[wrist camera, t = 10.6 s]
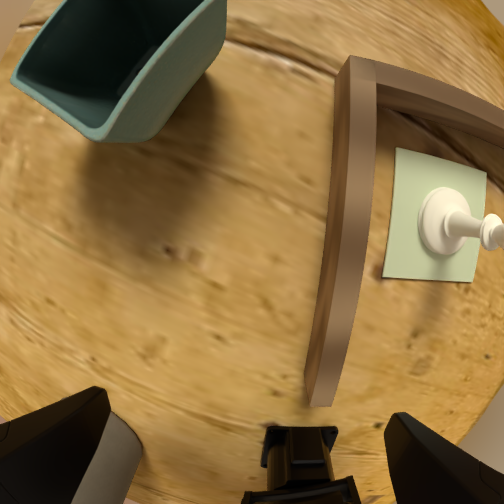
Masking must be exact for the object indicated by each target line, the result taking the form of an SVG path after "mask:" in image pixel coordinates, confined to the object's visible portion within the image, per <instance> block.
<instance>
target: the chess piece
mask: <svg viewBox="0 0 504 504" xmlns="http://www.w3.org/2000/svg"><path fill="white" fill-rule="evenodd" d="M418 228H419V233H420V236H421V239H422V241H423V243H424V244H425V246H426V247H427V248H428V249H429V250H431V251H432V252H434V253H437V254H443V255H448V254H452V253H455V252H456V251H458V250H459V249H460V248H461V247H462V246H463V245H464V244H465V242H466V240H467V239H468V237H474V238H480V241H481V244H482V246H483V247H484V249H486V250H488V251H491V250H495V249H497V248H498V247H499V246H500V247H501V248H502V249H503V250H504V224H503V223H502V221H501V219H500V218H499V217H498V216H497V215H495V214H489V215H487V216H486V217H485V218H484V220H483V221H481V220H478V219H476V218H473V217H471V211H470V208H469V205H468V203H467V201H466V199H465V198H464V197H463V195H462V194H461V193H459V192H458V191H456V190H454V189H451V188H447V187H440V188H436V189H434V190H433V191H431V192H430V193H429V194H428V195H427V196H426V197H425V199H424V200H423V202H422V204H421V207H420V210H419V215H418Z"/></svg>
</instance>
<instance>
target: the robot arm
mask: <svg viewBox="0 0 504 504" xmlns="http://www.w3.org/2000/svg"><path fill="white" fill-rule="evenodd" d="M110 413H111V406H110V402H109V399H108V395H107V391H106V390H105V389H104V388H101V387H97V386H92V387H90V388H88V389H85V390H83V391H81V392H79V393H76V394H74V395H72V396H69V397H67V398H65V399H63V400H60V401H58V402H55V403H53V404H51V405H48V406H46V407H43V408H41V409H39V410H36V411H34V412H31V413H29V414H26V415H24V416H21V417H19V418H16V419H13V420H11V422H10V421H8V422H5V423H3V424H0V504H71V503H72V501H73V498H74V496H75V494H76V492H77V490H78V488H79V486H80V483H81V481H82V479H83V477H84V475H85V473H86V471H87V469H88V467H89V465H90V463H91V461H92V459H93V457H94V455H95V453H96V451H97V449H98V446H99V443H100V441H101V438H102V435H103V432H104V429H105V427H106V424H107V421H108V418H109V416H110ZM337 435H338V428H337V427H336V426H328V427H286V426H270V427H268V428H267V429H266V435H265V441H264V447H263V453H262V459H261V467H263V468H267V491H259V492H252V491H245V494H244V497H243V499H242V501H241V504H361V501H360V498H359V494H358V491H357V488H356V485H355V482H354V479H353V476H352V475H351V476H347V477H346V478H343V479H339V480H335V479H334V474H333V468H332V463H331V458H330V452H331V449H332V447H333V445H334V442H335V440H336V437H337ZM384 441H385V447H386V453H387V460H388V467H389V473H390V478H391V482H392V485H393V489H394V493H395V497H396V501H397V504H504V474H502V473H500V472H498V471H496V470H494V469H493V468H491V467H489V466H487V465H486V464H484V463H483V462H481V461H479V460H478V459H476V458H474V457H473V456H471V455H470V454H468V453H466V452H465V451H463V450H462V449H460V448H459V447H457V446H456V445H454V444H452V443H451V442H449V441H448V440H446V439H445V438H443V437H442V436H440V435H439V434H437V433H436V432H434V431H433V430H431V429H430V428H428V427H427V426H425V425H424V424H422V423H421V422H419V421H418V420H416V419H415V418H413V417H412V416H411V415H409V414H408V413H406V412H398V413H394V414H393V415H392V416H391V418H390V420H389V422H388V424H387V426H386V428H385V431H384Z"/></svg>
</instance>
